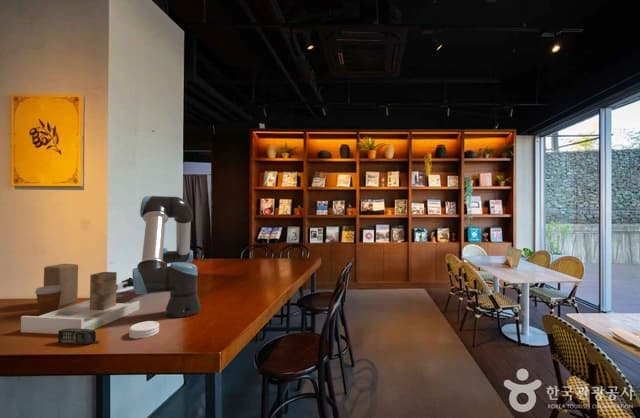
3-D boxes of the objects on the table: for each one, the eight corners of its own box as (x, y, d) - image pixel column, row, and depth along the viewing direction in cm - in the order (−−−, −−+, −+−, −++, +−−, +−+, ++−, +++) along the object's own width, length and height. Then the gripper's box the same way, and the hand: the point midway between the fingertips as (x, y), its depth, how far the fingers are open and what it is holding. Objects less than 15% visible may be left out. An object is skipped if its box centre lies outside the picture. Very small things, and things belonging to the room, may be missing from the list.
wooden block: (57, 307, 143) (58, 267, 144) (42, 306, 145) (43, 266, 146) (78, 301, 153) (79, 264, 154) (63, 300, 155) (64, 263, 156)
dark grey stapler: (56, 330, 104) (94, 331, 102) (64, 327, 107) (101, 327, 105) (56, 344, 104) (94, 345, 102) (64, 340, 107) (101, 341, 105)
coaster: (140, 329, 118) (140, 320, 118) (164, 329, 117) (164, 320, 117) (122, 339, 108) (122, 330, 108) (149, 340, 107) (149, 330, 107)
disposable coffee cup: (30, 317, 129) (31, 290, 129) (39, 311, 138) (39, 286, 138) (58, 314, 134) (59, 288, 134) (64, 308, 142) (65, 284, 142)
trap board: (90, 307, 144) (91, 295, 144) (139, 309, 142) (139, 296, 142) (20, 332, 114) (21, 316, 114) (81, 335, 111) (81, 319, 111)
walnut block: (115, 305, 139) (116, 272, 140) (103, 310, 132) (104, 275, 133) (102, 305, 140) (103, 271, 140) (89, 309, 133) (90, 274, 133)
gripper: (159, 284, 167) (128, 295, 143) (138, 283, 168) (104, 294, 145) (159, 271, 167) (128, 280, 143) (138, 270, 168) (104, 279, 145)
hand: (116, 287), depth 144 cm, fingers closed
